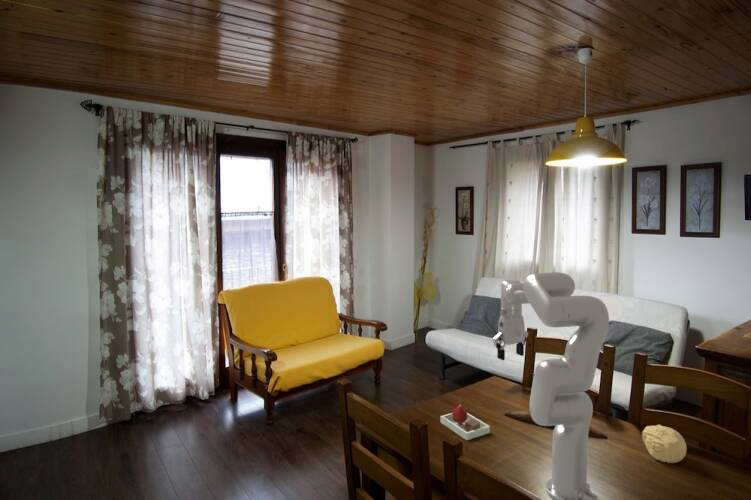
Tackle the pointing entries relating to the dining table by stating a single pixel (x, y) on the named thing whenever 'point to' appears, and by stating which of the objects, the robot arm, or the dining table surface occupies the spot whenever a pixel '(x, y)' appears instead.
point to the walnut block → (471, 425)
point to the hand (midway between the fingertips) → (510, 356)
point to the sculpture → (664, 443)
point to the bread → (527, 417)
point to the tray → (460, 429)
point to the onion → (459, 415)
